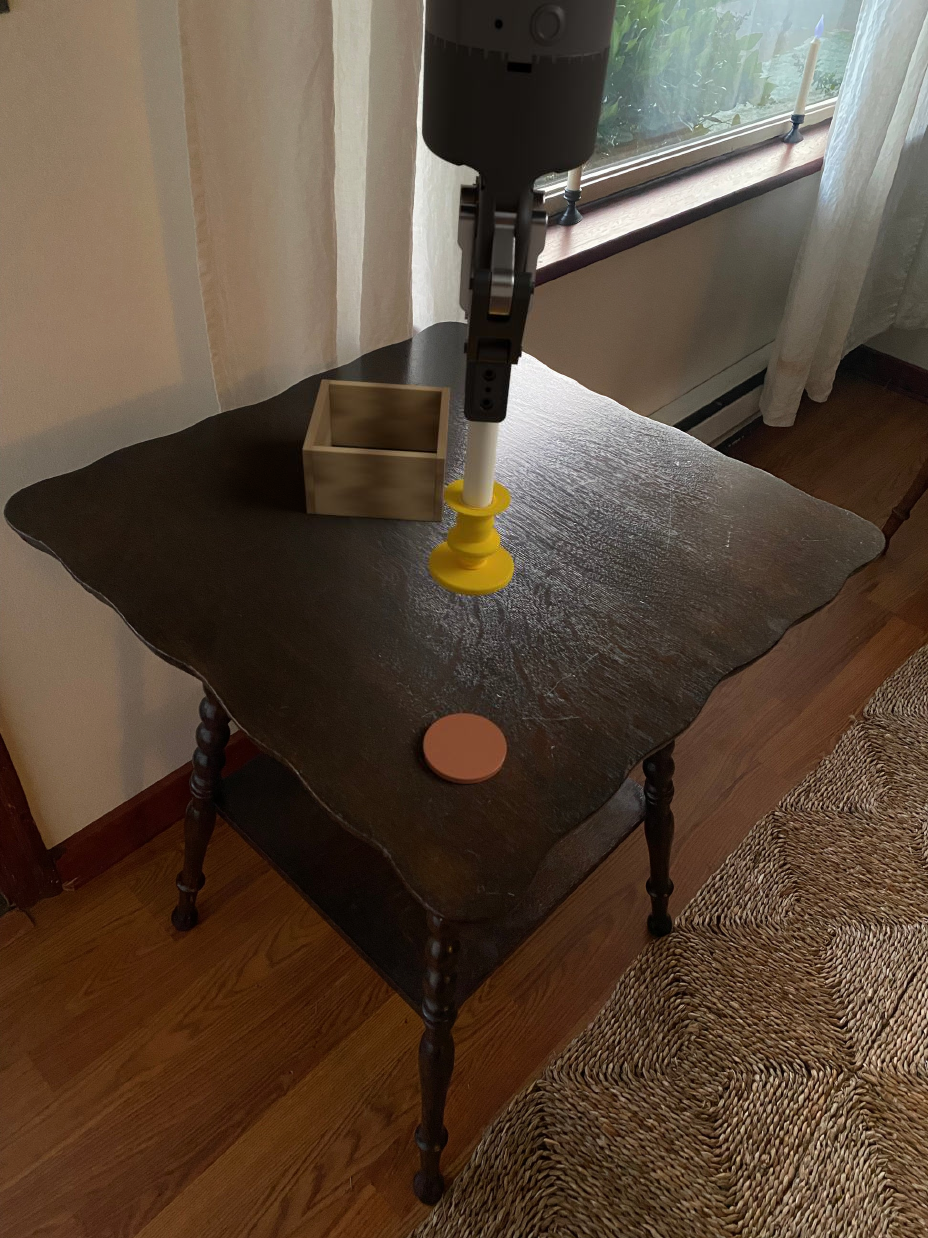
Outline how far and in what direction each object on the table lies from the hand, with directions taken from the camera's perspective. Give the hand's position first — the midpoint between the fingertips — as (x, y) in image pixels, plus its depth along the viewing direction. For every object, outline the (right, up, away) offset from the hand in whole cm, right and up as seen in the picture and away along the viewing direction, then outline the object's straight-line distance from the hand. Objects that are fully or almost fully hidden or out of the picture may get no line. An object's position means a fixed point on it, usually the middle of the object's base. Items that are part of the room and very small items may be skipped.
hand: (484, 406), depth 48 cm
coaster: (-1, -21, +17) cm, 27 cm away
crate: (-9, +2, +41) cm, 42 cm away
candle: (-1, -8, +7) cm, 11 cm away
